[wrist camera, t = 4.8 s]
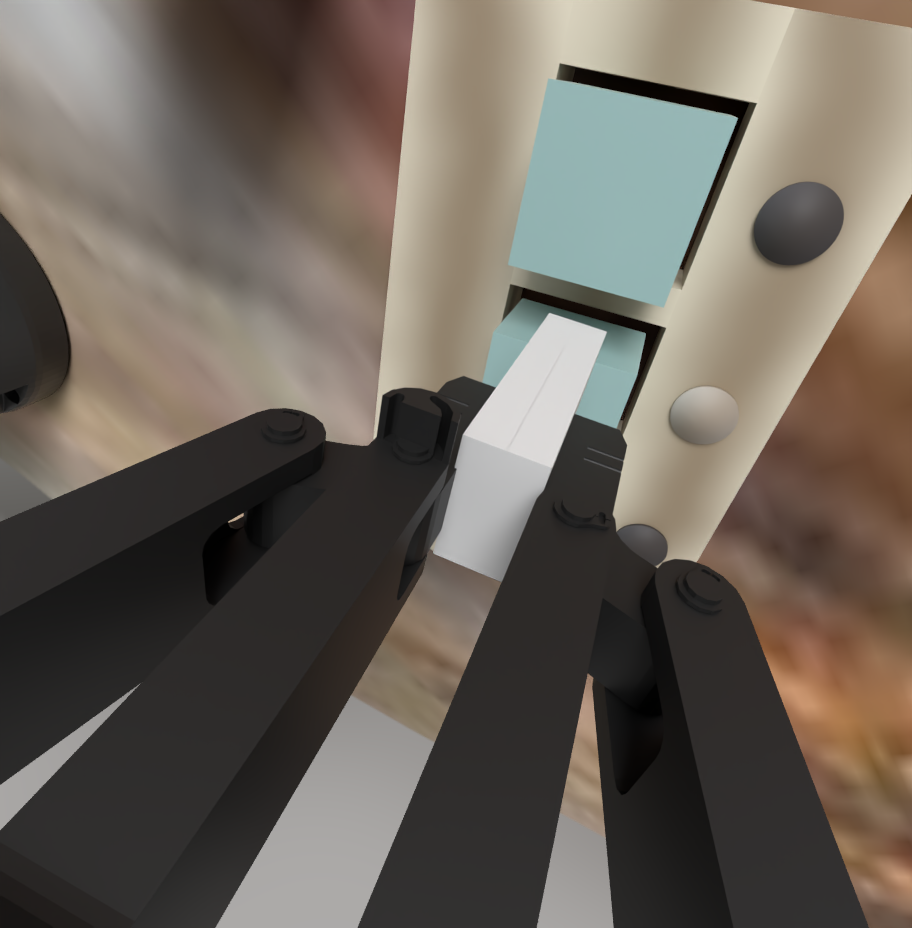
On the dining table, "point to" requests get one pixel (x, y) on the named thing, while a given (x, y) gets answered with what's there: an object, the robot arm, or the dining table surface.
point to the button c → (616, 188)
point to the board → (716, 245)
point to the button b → (608, 373)
